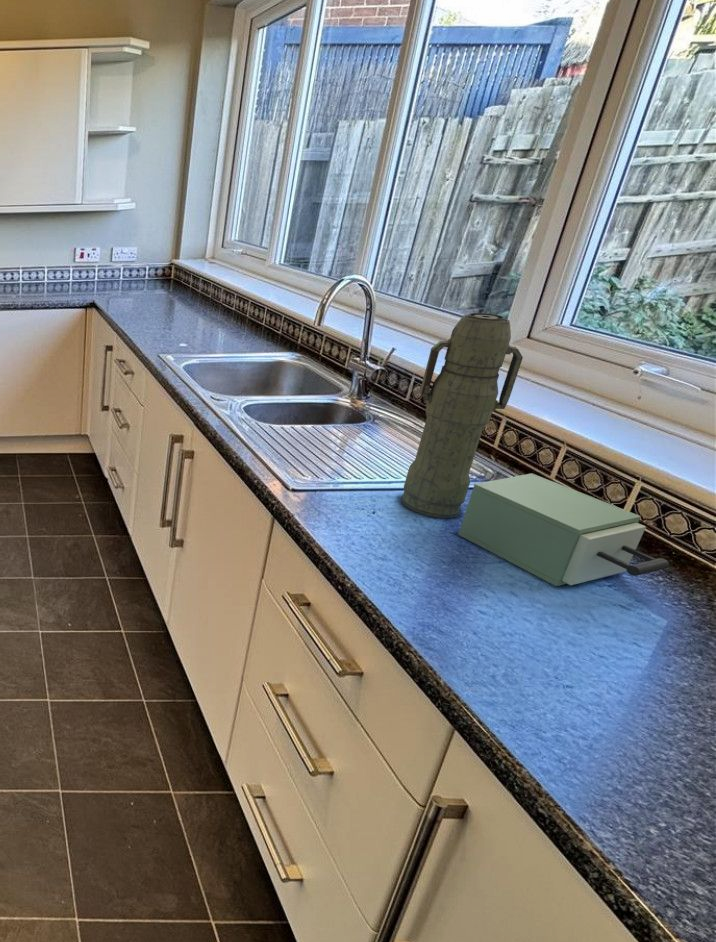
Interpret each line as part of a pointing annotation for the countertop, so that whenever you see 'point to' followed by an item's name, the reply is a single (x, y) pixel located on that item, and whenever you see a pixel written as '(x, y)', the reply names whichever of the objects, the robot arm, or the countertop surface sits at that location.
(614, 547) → the pull-out drawer
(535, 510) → the sage drawer box
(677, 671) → the countertop surface
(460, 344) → the thermos
